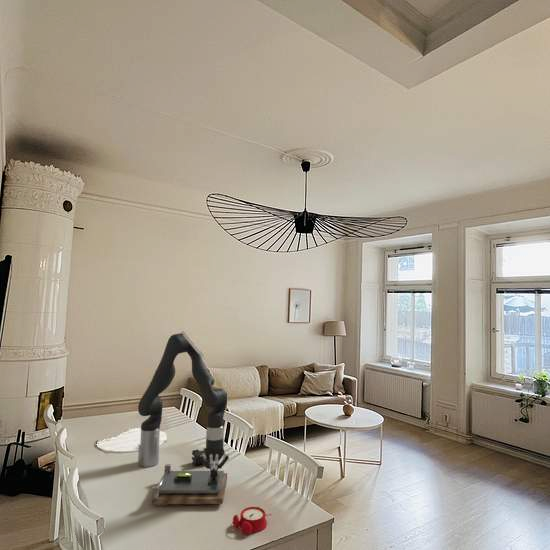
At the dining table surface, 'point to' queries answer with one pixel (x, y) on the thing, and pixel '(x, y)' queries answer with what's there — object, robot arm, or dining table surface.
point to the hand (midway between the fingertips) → (214, 478)
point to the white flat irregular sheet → (126, 441)
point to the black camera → (198, 457)
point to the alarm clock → (250, 520)
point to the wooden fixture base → (188, 495)
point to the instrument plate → (190, 482)
